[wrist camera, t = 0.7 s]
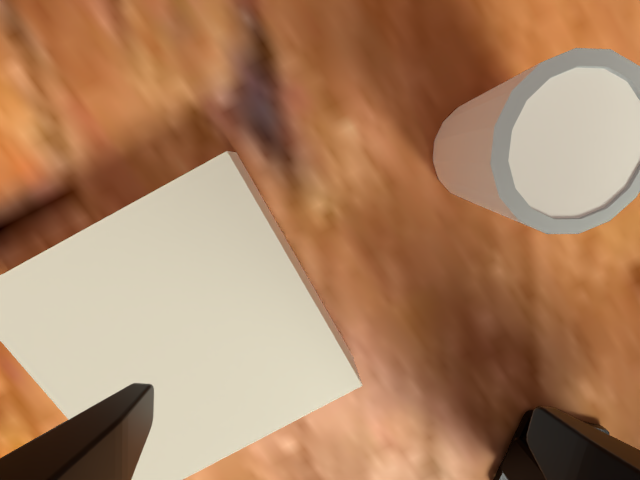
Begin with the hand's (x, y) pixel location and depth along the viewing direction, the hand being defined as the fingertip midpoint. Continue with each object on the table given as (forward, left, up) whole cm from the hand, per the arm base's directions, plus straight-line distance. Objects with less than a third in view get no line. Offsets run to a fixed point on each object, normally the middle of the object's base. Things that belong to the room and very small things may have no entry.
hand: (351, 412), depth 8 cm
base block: (+6, +5, -13) cm, 15 cm away
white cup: (-7, -9, -13) cm, 17 cm away
